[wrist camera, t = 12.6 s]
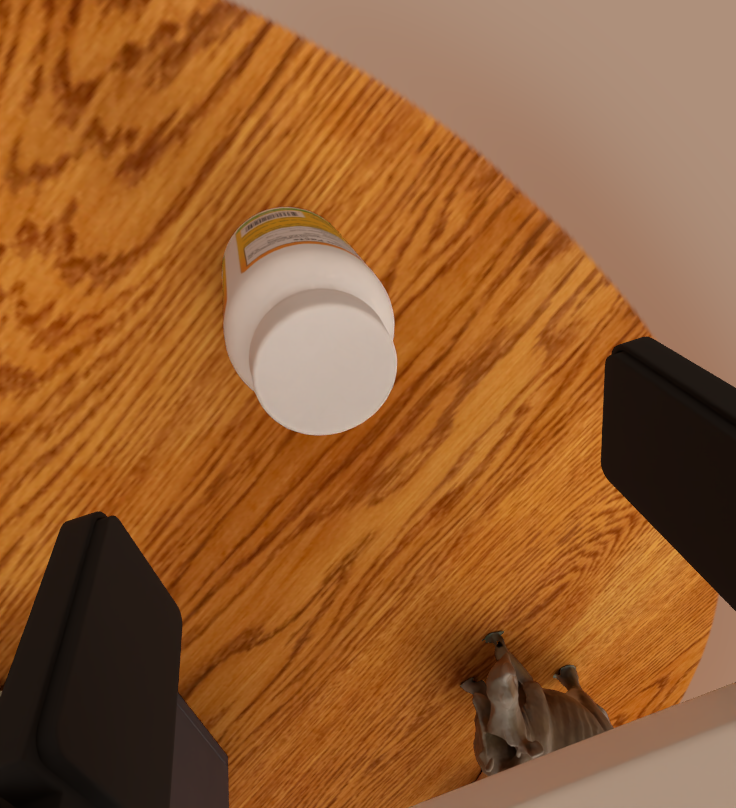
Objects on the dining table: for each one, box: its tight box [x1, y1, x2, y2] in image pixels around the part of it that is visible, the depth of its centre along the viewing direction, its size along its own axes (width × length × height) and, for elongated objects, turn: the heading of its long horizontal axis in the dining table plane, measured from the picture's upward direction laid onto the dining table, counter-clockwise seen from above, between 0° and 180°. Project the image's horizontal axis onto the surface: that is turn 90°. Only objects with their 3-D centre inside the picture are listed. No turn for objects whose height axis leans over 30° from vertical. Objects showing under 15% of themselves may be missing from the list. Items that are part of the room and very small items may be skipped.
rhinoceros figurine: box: [460, 631, 614, 777], centre depth 38 cm, size 8×14×15 cm
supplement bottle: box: [222, 207, 397, 435], centre depth 18 cm, size 5×5×10 cm
